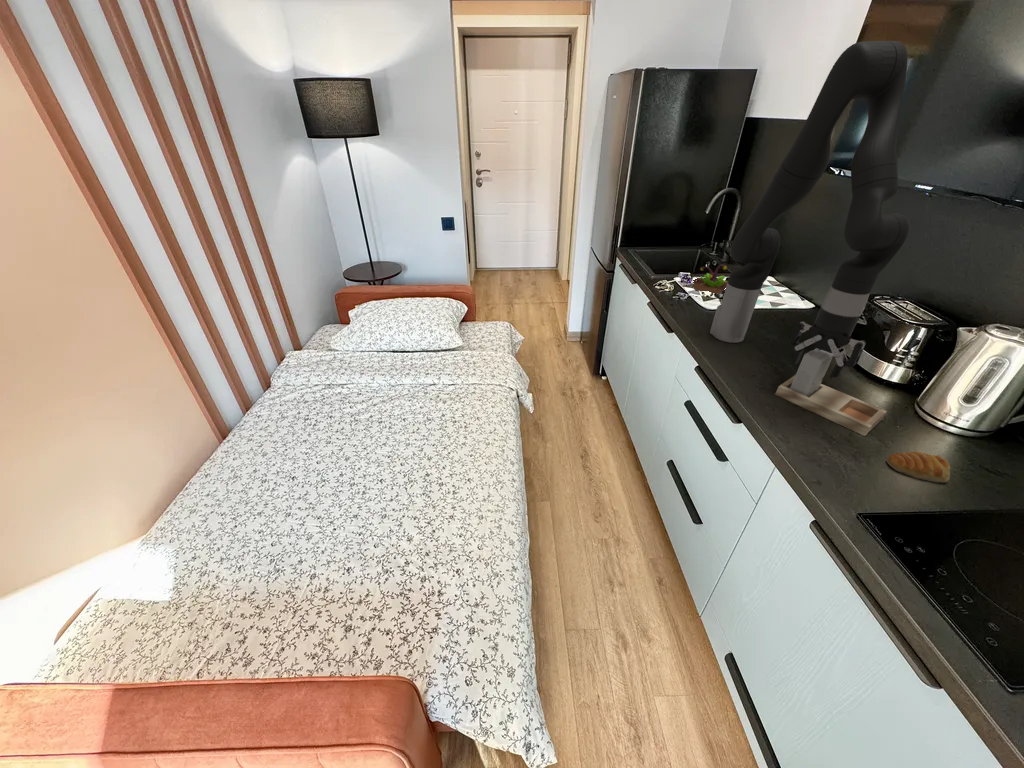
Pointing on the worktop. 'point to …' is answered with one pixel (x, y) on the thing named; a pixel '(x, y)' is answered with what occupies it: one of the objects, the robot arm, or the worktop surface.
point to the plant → (711, 281)
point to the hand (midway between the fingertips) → (813, 370)
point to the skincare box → (811, 372)
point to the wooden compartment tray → (835, 407)
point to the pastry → (921, 466)
